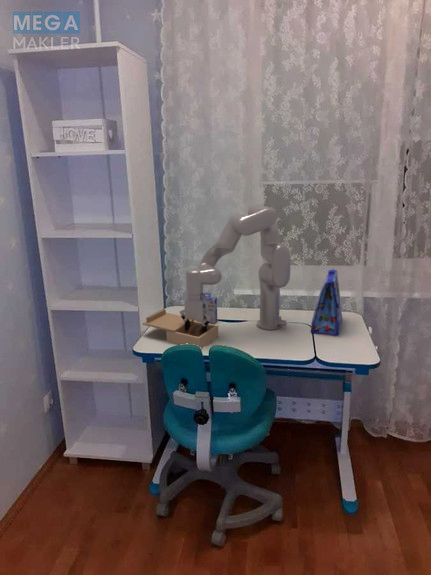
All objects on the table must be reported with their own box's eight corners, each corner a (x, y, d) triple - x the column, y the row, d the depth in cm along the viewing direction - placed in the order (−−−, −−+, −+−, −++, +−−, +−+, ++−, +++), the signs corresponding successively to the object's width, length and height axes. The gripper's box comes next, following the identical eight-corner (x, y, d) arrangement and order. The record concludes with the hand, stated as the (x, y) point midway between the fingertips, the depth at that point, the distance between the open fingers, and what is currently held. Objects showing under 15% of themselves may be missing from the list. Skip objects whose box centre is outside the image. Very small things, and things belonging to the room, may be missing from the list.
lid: (194, 320, 223) (194, 314, 222) (174, 332, 210) (174, 325, 209) (164, 313, 232) (163, 307, 231) (142, 324, 219) (142, 318, 218)
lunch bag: (339, 336, 215) (343, 277, 206) (309, 333, 219) (312, 274, 210) (342, 320, 234) (346, 264, 226) (315, 317, 239) (318, 262, 230)
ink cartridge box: (217, 319, 238) (217, 292, 234) (215, 323, 233) (215, 296, 229) (199, 318, 240) (198, 292, 236) (196, 322, 235) (195, 295, 231)
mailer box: (218, 336, 218) (218, 326, 216) (199, 349, 205) (199, 338, 203) (186, 329, 227) (186, 319, 225) (166, 341, 214) (166, 330, 212)
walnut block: (204, 338, 215) (204, 326, 213) (198, 342, 211) (198, 329, 209) (195, 335, 218) (195, 324, 216) (189, 339, 214) (189, 327, 212)
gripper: (215, 296, 207) (216, 332, 212) (184, 290, 216) (185, 325, 221) (206, 301, 201) (207, 338, 206) (174, 295, 210) (175, 330, 215)
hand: (196, 331), depth 214 cm, fingers open, 9 cm apart
